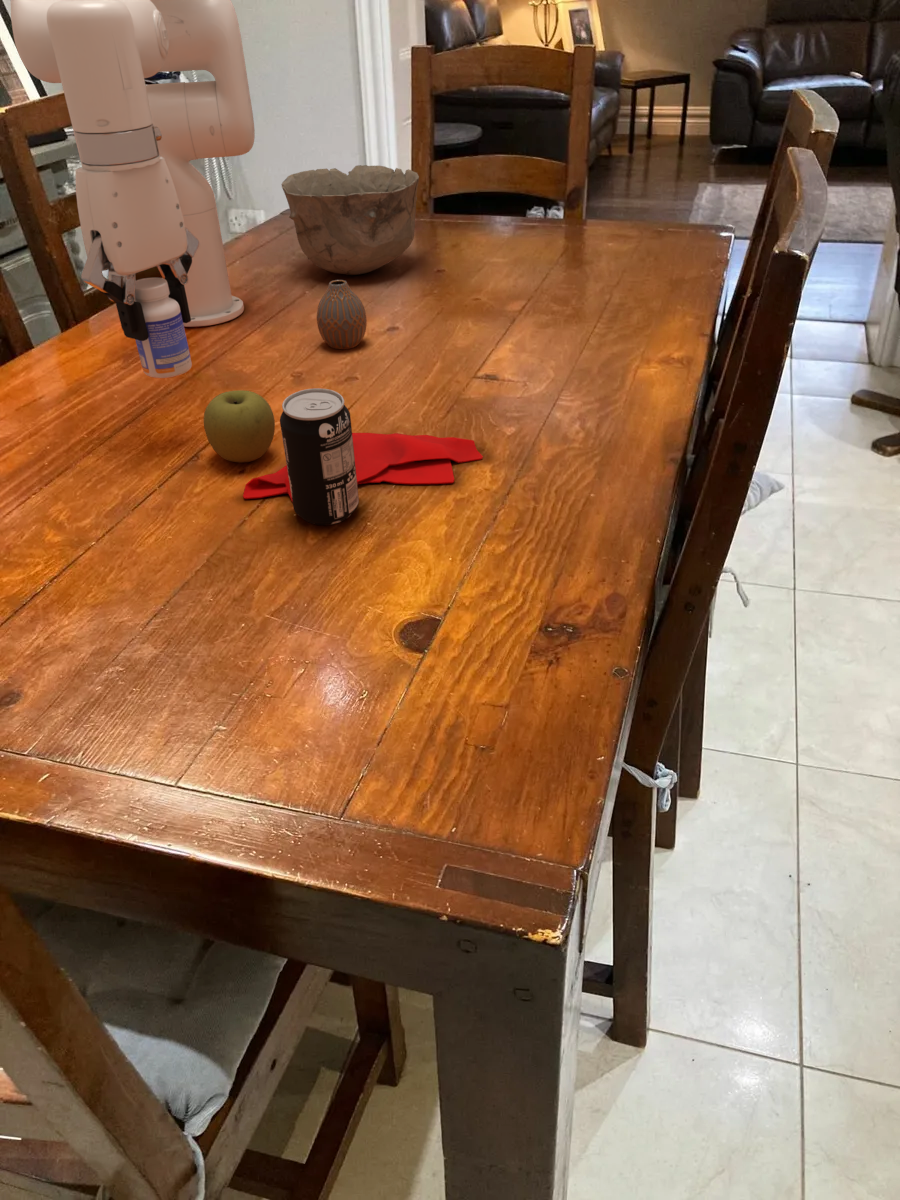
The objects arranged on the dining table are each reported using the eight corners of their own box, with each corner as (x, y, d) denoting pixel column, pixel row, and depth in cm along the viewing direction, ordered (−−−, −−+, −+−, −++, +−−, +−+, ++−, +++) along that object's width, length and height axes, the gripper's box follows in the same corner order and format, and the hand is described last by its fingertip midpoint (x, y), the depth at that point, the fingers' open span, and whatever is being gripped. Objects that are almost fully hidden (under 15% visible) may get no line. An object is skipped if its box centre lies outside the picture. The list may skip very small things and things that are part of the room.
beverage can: (295, 493, 97) (279, 388, 89) (359, 489, 97) (348, 384, 89) (292, 530, 92) (275, 422, 84) (360, 526, 92) (348, 417, 84)
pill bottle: (201, 363, 106) (184, 276, 100) (175, 381, 102) (156, 292, 96) (160, 359, 108) (141, 273, 102) (133, 376, 103) (111, 288, 98)
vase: (361, 354, 129) (355, 290, 124) (313, 352, 130) (305, 289, 125) (374, 336, 135) (368, 275, 130) (328, 335, 136) (321, 274, 131)
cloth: (470, 426, 109) (470, 408, 108) (492, 482, 98) (492, 462, 97) (245, 449, 107) (242, 430, 105) (242, 508, 96) (238, 489, 94)
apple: (222, 479, 101) (210, 418, 97) (202, 451, 107) (190, 392, 102) (289, 462, 103) (279, 402, 99) (266, 435, 109) (256, 377, 105)
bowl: (445, 262, 164) (442, 169, 155) (372, 298, 149) (363, 198, 140) (346, 247, 173) (337, 159, 165) (268, 280, 159) (254, 185, 150)
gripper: (157, 131, 99) (191, 301, 109) (19, 161, 87) (72, 349, 98) (208, 135, 95) (238, 311, 106) (71, 168, 84) (120, 361, 95)
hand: (158, 327), depth 102 cm, fingers closed on pill bottle, 5 cm apart
